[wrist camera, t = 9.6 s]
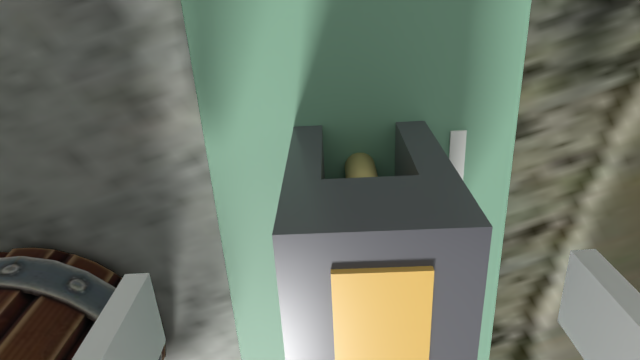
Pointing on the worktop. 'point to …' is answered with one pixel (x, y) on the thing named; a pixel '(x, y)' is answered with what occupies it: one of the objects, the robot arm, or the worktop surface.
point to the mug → (50, 302)
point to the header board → (347, 114)
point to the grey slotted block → (380, 256)
